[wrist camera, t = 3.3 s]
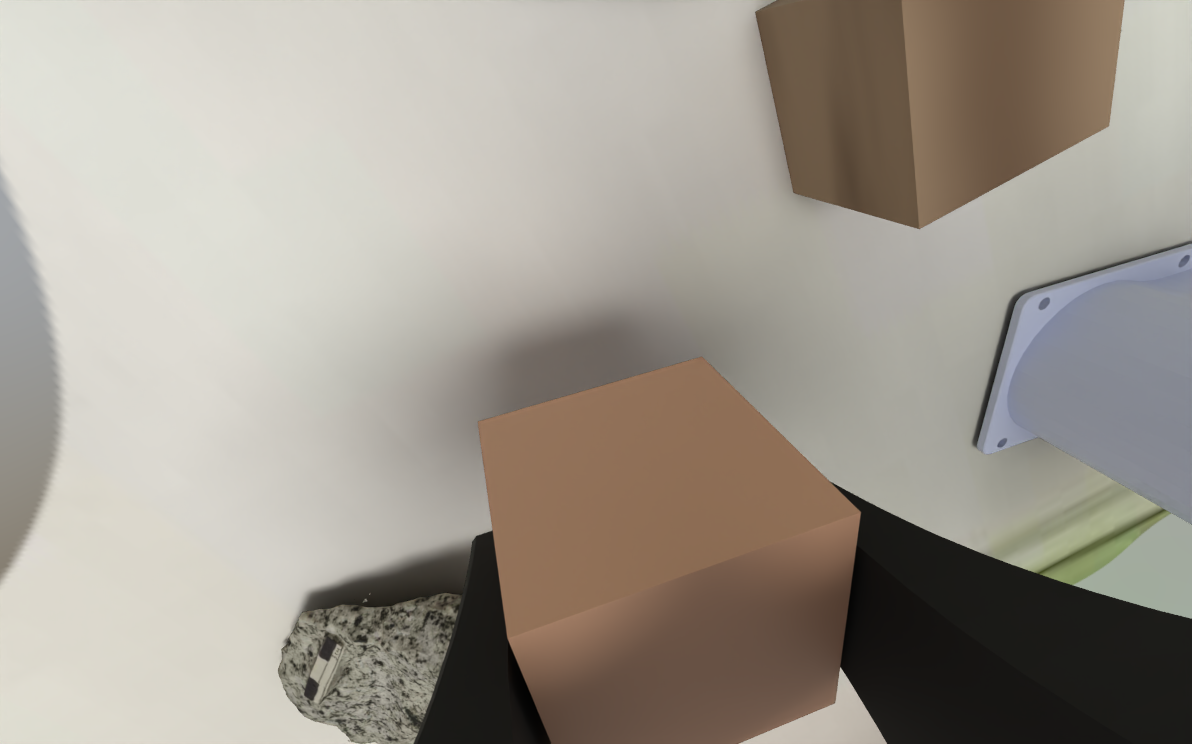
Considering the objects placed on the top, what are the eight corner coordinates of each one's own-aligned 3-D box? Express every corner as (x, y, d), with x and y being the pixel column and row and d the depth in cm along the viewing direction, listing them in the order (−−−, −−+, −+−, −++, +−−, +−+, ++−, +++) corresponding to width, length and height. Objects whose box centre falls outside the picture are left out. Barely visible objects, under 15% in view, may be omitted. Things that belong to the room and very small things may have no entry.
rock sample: (152, 669, 13) (399, 947, 11) (395, 470, 18) (593, 644, 16) (247, 716, 21) (403, 885, 19) (399, 568, 26) (534, 693, 24)
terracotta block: (701, 356, 11) (860, 512, 7) (712, 517, 14) (835, 703, 10) (477, 421, 11) (507, 638, 6) (532, 579, 13) (579, 810, 9)
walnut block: (921, -78, 14) (1142, -154, 9) (932, 116, 16) (1109, 126, 12) (753, 12, 13) (899, -23, 9) (792, 192, 16) (919, 229, 12)
